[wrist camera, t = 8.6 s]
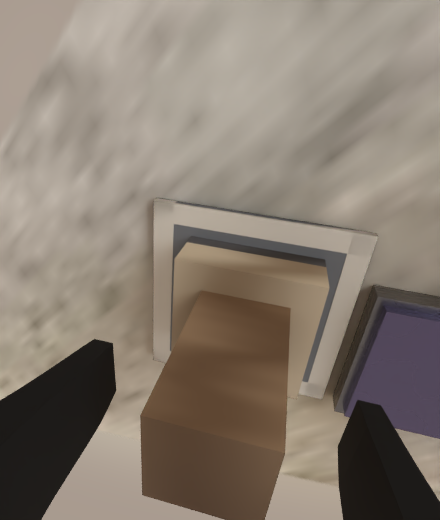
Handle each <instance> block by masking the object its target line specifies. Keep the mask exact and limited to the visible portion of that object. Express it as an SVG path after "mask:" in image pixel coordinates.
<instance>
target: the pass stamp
mask: <svg viewBox="0 0 440 520" xmlns="http://www.w3.org/2000/svg"><path fill="white" fill-rule="evenodd" d="M328 292H329V281H328V275H327V268H326V262H325V259H319V258H313V257H308V256H302V255H296V254H291V253H285V252H280V251H274V250H268V249H263V248H257V247H251V246H246V245H240V244H234V243H229V242H223V241H217V240H212V239H206V238H200V237H195V236H191V237H190V239H189V240H188V242H187V243H186V244H185V246H184V247H183V248H182V250H181V251H180V252H179V254H178V255H177V256H176V258H175V260H174V287H173V314H172V342H171V354H170V356H169V358H168V360H167V362H166V364H165V366H164V368H163V370H162V372H161V375H160V377H159V379H158V381H157V383H156V385H155V387H154V389H153V391H152V393H151V395H150V397H149V399H148V401H147V403H146V405H145V407H144V409H143V411H142V413H141V415H140V417H141V459H142V495H144V496H148V497H151V498H154V499H158V500H161V501H164V502H168V503H171V504H175V505H178V506H182V507H185V508H188V509H191V510H195V511H198V512H202V513H205V514H208V515H212V516H215V517H218V518H222V519H225V520H265V517H266V513H267V510H268V507H269V504H270V500H271V497H272V494H273V490H274V487H275V484H276V481H277V477H278V474H279V471H280V468H281V464H282V461H283V458H284V455H285V439H286V414H287V397H289V398H293V399H297V396H298V393H299V390H300V386H301V383H302V380H303V376H304V373H305V369H306V366H307V363H308V359H309V356H310V353H311V349H312V346H313V342H314V339H315V336H316V332H317V329H318V326H319V322H320V319H321V315H322V312H323V309H324V305H325V302H326V299H327V295H328Z"/></svg>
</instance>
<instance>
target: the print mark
mask: <svg viewBox="0 0 440 520" xmlns="http://www.w3.org/2000/svg"><path fill="white" fill-rule="evenodd" d="M191 236H195V237H200V238H206V239H212V240H217V241H223V242H229V243H234V244H240V245H246V246H251V247H257V248H263V249H268V250H274V251H280V252H285V253H291V254H296V255H302V256H308V257H313V258H319V259H325V262H326V268H327V275H328V281H329V292H328V295H327V299H326V302H325V305H324V309H323V312H322V315H321V319H320V322H319V326H318V329H317V332H316V336H315V339H314V342H313V346H312V349H311V353H310V356H309V359H308V363H307V366H306V369H305V373H304V376H303V380H302V383H301V386H300V390H299V393H298V394H301V395H305V396H309V397H314V398H318V399H322V398H323V395H324V392H325V390H326V387H327V384H328V381H329V378H330V375H331V372H332V369H333V366H334V363H335V361H336V358H337V355H338V352H339V349H340V346H341V343H342V340H343V337H344V335H345V332H346V329H347V326H348V323H349V320H350V317H351V314H352V311H353V309H354V306H355V303H356V300H357V297H358V294H359V291H360V288H361V285H362V283H363V280H364V277H365V274H366V271H367V268H368V265H369V262H370V259H371V256H372V254H373V251H374V248H375V245H376V242H377V239H378V235H377V234H376V233H371V232H365V231H359V230H353V229H347V228H340V227H334V226H328V225H322V224H316V223H309V222H303V221H297V220H291V219H285V218H278V217H272V216H266V215H260V214H254V213H247V212H241V211H235V210H229V209H223V208H216V207H210V206H204V205H198V204H192V203H185V202H179V201H173V200H167V199H161V198H156V199H155V200H154V295H153V360H155V361H160V362H164V363H166V362H167V360H168V358H169V356H170V354H171V342H172V314H173V287H174V260H175V258H176V256H177V255H178V254H179V252H180V251H181V250H182V248H183V247H184V246H185V244H186V243H187V242H188V240H189V239H190V237H191Z"/></svg>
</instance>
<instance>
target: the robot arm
mask: <svg viewBox="0 0 440 520" xmlns="http://www.w3.org/2000/svg"><path fill="white" fill-rule="evenodd" d="M115 392H116V382H115V368H114V354H113V343H109V342H105V341H100V340H96V339H94V340H92V341H91V342H89V343H88V344H86V345H85V346H83V347H82V348H80V349H79V350H77V351H76V352H74V353H73V354H71V355H70V356H68V357H67V358H65V359H64V360H62V361H61V362H59V363H58V364H56V365H55V366H53V367H52V368H51V369H49V370H48V371H46V372H44V373H43V374H41V375H40V376H38V377H37V378H35V379H34V380H32V381H31V382H29V383H28V384H26V385H25V386H23V387H21V388H20V389H18V390H17V391H15V392H13V393H12V394H10V395H9V396H7V397H5V398H4V399H2V400H0V520H41V519H42V517H43V515H44V514H45V512H46V510H47V508H48V507H49V505H50V504H51V502H52V500H53V498H54V497H55V495H56V494H57V492H58V490H59V489H60V487H61V486H62V484H63V482H64V481H65V479H66V478H67V476H68V475H69V473H70V471H71V470H72V468H73V467H74V465H75V463H76V462H77V460H78V459H79V457H80V455H81V454H82V452H83V451H84V449H85V448H86V446H87V444H88V443H89V441H90V439H91V438H92V436H93V435H94V433H95V431H96V430H97V428H98V426H99V425H100V423H101V421H102V419H103V417H104V415H105V413H106V411H107V409H108V407H109V405H110V403H111V401H112V398H113V396H114V394H115ZM338 473H339V491H340V499H341V506H342V513H343V520H440V501H439V500H438V498H437V497H436V495H435V494H434V492H433V490H432V489H431V487H430V486H429V484H428V483H427V481H426V479H425V478H424V476H423V475H422V473H421V471H420V470H419V468H418V467H417V465H416V463H415V462H414V460H413V458H412V457H411V455H410V453H409V452H408V450H407V448H406V447H405V445H404V443H403V442H402V440H401V438H400V437H399V435H398V433H397V431H396V430H395V428H394V426H393V425H392V423H391V421H390V419H389V418H388V416H387V414H386V413H385V411H384V409H383V408H382V406H381V405H378V404H374V403H369V402H365V401H361V400H357V402H356V404H355V407H354V409H353V411H352V414H351V416H350V419H349V421H348V423H347V426H346V428H345V431H344V433H343V435H342V438H341V440H340V443H339V445H338Z"/></svg>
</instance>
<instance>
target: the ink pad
mask: <svg viewBox="0 0 440 520" xmlns="http://www.w3.org/2000/svg"><path fill="white" fill-rule="evenodd" d="M357 400H361V401H365V402H369V403H374V404H378V405H381V406H382V408H383V409H384V411H385V413H386V414H387V416H388V418H389V419H390V421H391V423H392V425H393V426H394V428H397V429H401V430H405V431H409V432H413V433H418V434H422V435H426V436H430V437H434V438H439V439H440V297H437V296H431V295H426V294H420V293H415V292H409V291H404V290H398V289H393V288H387V287H382V286H376V285H373V288H372V291H371V293H370V296H369V299H368V302H367V304H366V307H365V310H364V312H363V315H362V318H361V321H360V323H359V326H358V329H357V332H356V334H355V337H354V340H353V343H352V345H351V348H350V351H349V354H348V356H347V359H346V362H345V364H344V367H343V370H342V373H341V375H340V378H339V381H338V384H337V386H336V389H335V392H334V395H333V403H334V411H336V412H340V413H344V416H346V417H350V416H351V414H352V411H353V409H354V407H355V404H356V402H357Z"/></svg>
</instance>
